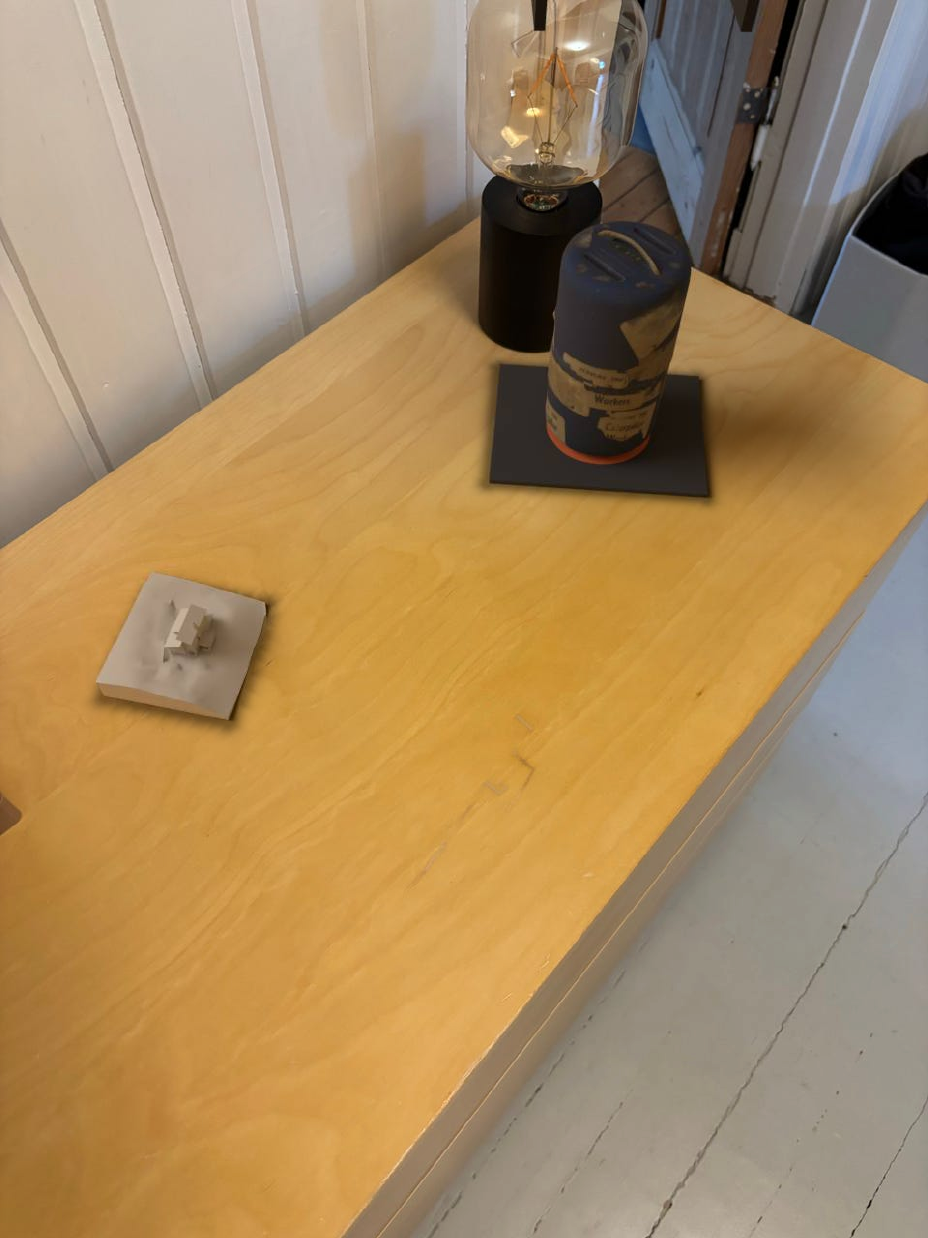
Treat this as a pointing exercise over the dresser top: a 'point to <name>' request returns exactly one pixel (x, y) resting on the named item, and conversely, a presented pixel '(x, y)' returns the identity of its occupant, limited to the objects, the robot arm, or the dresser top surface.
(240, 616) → the miniature house
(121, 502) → the dresser top surface
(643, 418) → the canister
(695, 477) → the mat
